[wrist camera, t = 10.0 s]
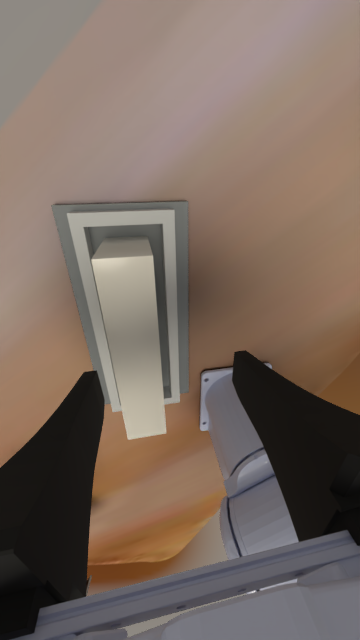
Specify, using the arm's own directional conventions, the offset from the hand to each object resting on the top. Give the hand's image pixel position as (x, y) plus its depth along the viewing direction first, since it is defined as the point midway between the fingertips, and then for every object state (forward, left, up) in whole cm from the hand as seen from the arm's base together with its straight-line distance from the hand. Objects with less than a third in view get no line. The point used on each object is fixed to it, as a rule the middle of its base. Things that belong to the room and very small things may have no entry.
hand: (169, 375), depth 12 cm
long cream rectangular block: (-1, +2, -9) cm, 9 cm away
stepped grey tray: (-1, +2, -9) cm, 10 cm away
